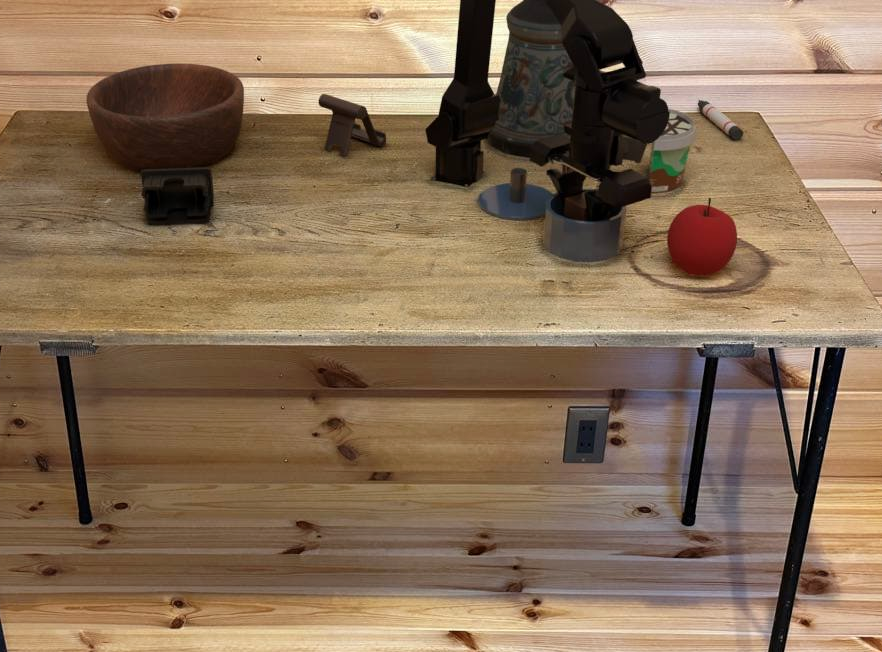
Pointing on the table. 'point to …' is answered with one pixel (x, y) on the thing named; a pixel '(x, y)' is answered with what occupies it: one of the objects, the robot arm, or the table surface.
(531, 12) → the beer stein
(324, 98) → the tablet stand
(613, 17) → the robot arm
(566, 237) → the tin
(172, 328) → the table surface
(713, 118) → the marker
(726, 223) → the apple
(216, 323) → the table surface
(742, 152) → the table surface
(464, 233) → the table surface
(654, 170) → the food container
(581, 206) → the block
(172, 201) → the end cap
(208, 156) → the wooden bowl
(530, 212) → the lid
